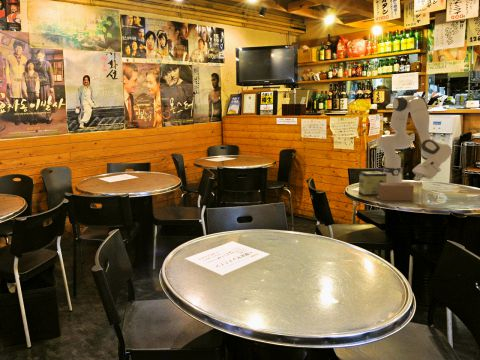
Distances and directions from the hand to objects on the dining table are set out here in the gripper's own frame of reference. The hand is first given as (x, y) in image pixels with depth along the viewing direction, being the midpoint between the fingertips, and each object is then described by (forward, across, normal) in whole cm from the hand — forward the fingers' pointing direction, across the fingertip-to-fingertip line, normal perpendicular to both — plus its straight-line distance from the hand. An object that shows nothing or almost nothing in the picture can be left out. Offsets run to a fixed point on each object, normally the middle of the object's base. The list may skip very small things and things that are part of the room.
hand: (415, 180), depth 276 cm
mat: (+19, 0, 0) cm, 19 cm away
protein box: (+24, -19, -5) cm, 31 cm away
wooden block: (+7, -1, +5) cm, 8 cm away
